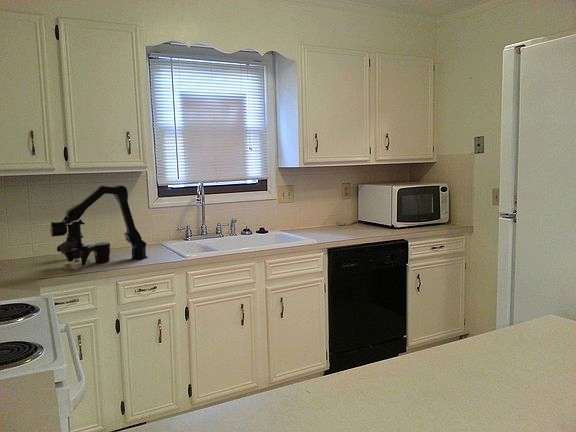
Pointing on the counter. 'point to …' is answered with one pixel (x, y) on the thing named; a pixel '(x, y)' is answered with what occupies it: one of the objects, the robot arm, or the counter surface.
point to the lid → (76, 264)
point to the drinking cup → (76, 252)
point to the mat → (77, 269)
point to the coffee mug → (102, 252)
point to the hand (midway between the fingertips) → (77, 265)
